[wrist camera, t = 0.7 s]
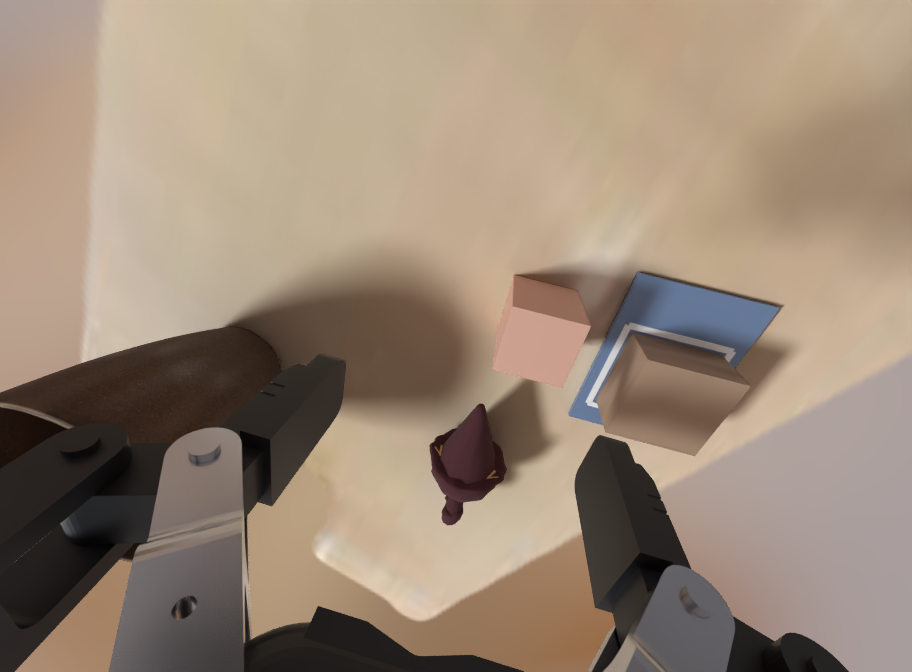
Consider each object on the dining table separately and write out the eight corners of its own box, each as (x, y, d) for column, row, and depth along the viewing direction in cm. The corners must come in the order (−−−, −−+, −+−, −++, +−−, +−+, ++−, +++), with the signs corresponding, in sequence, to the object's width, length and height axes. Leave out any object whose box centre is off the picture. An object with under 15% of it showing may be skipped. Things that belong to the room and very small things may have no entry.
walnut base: (631, 332, 27) (647, 359, 24) (721, 354, 27) (750, 386, 24) (595, 399, 31) (605, 432, 27) (675, 420, 31) (694, 456, 27)
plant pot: (309, 433, 40) (196, 589, 26) (183, 389, 39) (2, 522, 26) (323, 323, 32) (173, 461, 18) (168, 268, 32) (-101, 365, 18)
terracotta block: (513, 274, 27) (512, 306, 22) (577, 290, 27) (591, 326, 22) (497, 329, 30) (492, 369, 24) (555, 344, 29) (562, 388, 24)
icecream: (420, 415, 27) (409, 515, 36) (511, 457, 25) (476, 552, 34) (457, 366, 32) (440, 463, 41) (534, 397, 30) (499, 492, 39)
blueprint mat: (637, 271, 25) (639, 273, 25) (776, 305, 25) (780, 308, 25) (568, 413, 32) (569, 416, 32) (675, 441, 32) (677, 445, 32)
